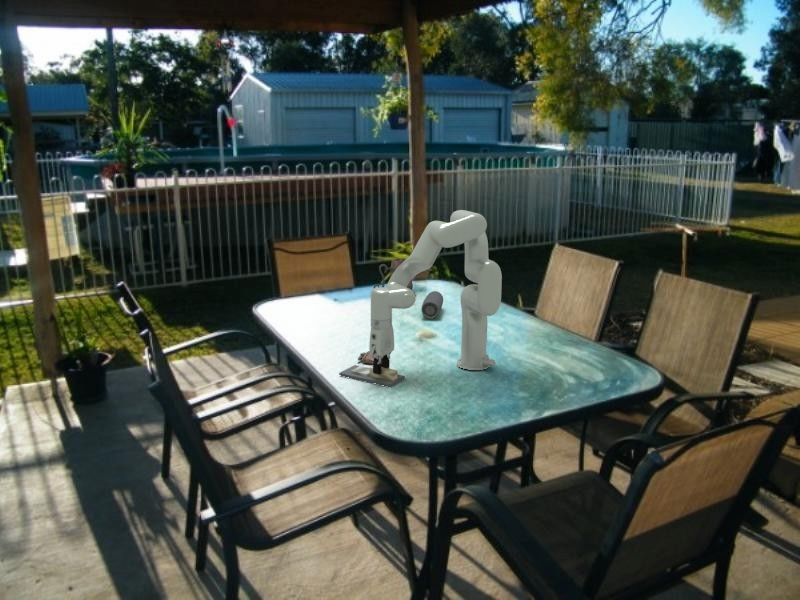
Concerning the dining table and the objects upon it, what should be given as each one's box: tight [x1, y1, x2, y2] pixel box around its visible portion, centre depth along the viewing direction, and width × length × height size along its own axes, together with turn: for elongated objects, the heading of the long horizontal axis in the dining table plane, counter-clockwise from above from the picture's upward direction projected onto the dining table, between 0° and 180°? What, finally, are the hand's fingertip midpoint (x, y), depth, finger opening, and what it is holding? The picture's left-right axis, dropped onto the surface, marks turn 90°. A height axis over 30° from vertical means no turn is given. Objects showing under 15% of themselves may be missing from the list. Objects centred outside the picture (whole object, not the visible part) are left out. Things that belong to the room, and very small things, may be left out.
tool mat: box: [338, 364, 406, 388], centre depth 243 cm, size 22×10×1 cm, turn 59°
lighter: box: [357, 350, 383, 365], centre depth 259 cm, size 8×3×10 cm
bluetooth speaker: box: [421, 290, 444, 319], centre depth 326 cm, size 23×9×10 cm, turn 171°
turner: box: [351, 365, 398, 381], centre depth 242 cm, size 17×6×3 cm, turn 60°
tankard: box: [373, 257, 417, 297], centre depth 363 cm, size 24×17×20 cm
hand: (381, 370), depth 240 cm, fingers open, 4 cm apart
